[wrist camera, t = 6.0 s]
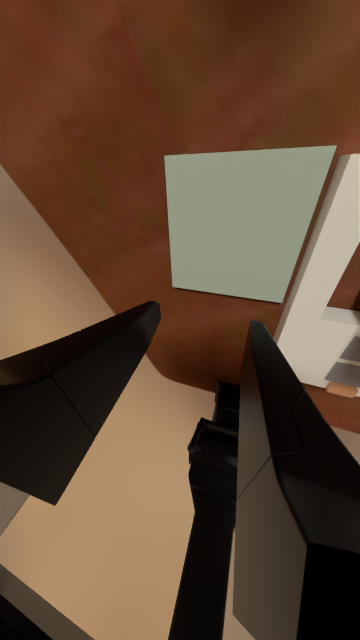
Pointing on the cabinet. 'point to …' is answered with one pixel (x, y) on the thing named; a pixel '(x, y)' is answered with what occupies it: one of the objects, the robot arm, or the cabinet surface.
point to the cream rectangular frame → (326, 293)
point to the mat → (242, 217)
